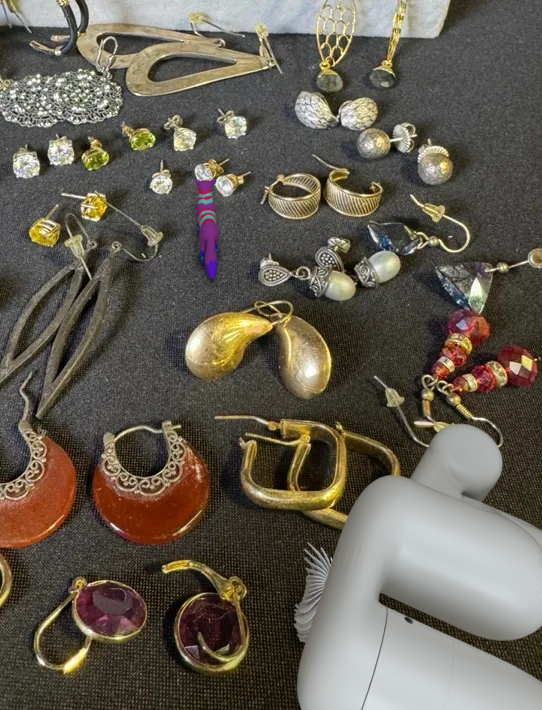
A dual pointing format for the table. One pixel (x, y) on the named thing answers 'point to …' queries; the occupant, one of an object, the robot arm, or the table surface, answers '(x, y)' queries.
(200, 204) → the purple striped elongated piece
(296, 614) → the shell sculpture
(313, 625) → the robot arm
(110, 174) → the table surface
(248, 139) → the table surface
